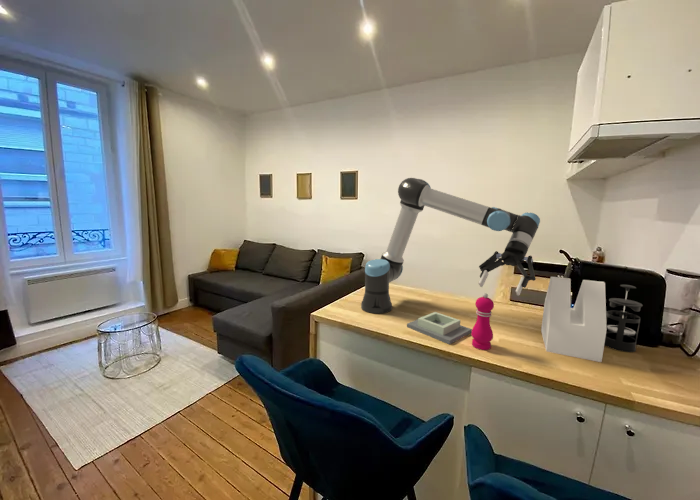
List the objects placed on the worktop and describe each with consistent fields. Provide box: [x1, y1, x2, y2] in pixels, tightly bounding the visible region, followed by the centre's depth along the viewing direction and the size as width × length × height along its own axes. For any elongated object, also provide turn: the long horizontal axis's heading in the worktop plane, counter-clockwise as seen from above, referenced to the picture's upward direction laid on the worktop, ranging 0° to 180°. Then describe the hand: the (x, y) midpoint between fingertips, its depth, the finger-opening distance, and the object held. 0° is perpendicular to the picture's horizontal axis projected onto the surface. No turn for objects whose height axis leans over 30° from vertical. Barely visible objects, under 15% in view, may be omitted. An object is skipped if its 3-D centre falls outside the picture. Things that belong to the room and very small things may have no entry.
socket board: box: [406, 311, 473, 345], centre depth 123 cm, size 20×16×4 cm
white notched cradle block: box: [540, 276, 607, 363], centre depth 109 cm, size 19×15×25 cm
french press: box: [604, 284, 644, 353], centre depth 109 cm, size 12×9×23 cm
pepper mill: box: [470, 292, 495, 351], centre depth 108 cm, size 7×7×20 cm
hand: (497, 289), depth 112 cm, fingers open, 13 cm apart
